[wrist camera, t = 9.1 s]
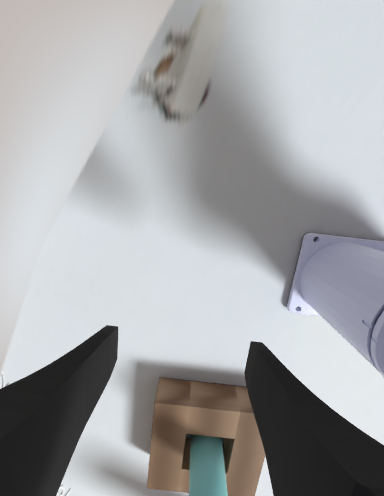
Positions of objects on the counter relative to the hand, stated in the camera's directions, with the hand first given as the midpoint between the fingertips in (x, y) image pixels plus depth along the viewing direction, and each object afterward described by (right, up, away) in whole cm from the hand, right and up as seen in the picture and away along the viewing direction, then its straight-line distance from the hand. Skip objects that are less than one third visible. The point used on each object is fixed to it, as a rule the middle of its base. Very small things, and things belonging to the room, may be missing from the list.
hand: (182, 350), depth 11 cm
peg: (+2, -15, +14) cm, 21 cm away
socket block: (+2, -15, +14) cm, 21 cm away
